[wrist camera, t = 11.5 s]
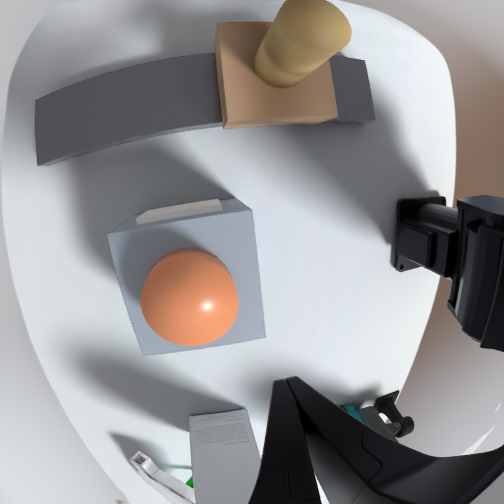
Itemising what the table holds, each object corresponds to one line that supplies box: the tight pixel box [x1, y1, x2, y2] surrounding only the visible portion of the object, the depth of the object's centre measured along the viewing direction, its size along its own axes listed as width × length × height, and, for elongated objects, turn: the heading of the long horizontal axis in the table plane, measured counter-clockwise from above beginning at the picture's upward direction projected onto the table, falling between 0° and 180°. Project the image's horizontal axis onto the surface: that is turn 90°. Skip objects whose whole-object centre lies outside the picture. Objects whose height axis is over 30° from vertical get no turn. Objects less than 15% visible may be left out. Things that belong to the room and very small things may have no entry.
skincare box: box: [189, 409, 261, 504], centre depth 18 cm, size 6×4×12 cm
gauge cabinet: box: [107, 198, 266, 356], centre depth 16 cm, size 7×7×6 cm
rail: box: [35, 53, 375, 166], centre depth 15 cm, size 24×5×2 cm, turn 96°
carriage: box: [214, 0, 351, 129], centre depth 11 cm, size 6×6×8 cm
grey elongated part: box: [130, 451, 196, 504], centre depth 23 cm, size 15×8×11 cm
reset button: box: [140, 248, 239, 346], centre depth 13 cm, size 4×4×4 cm
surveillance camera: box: [339, 390, 414, 443], centre depth 22 cm, size 6×12×10 cm
